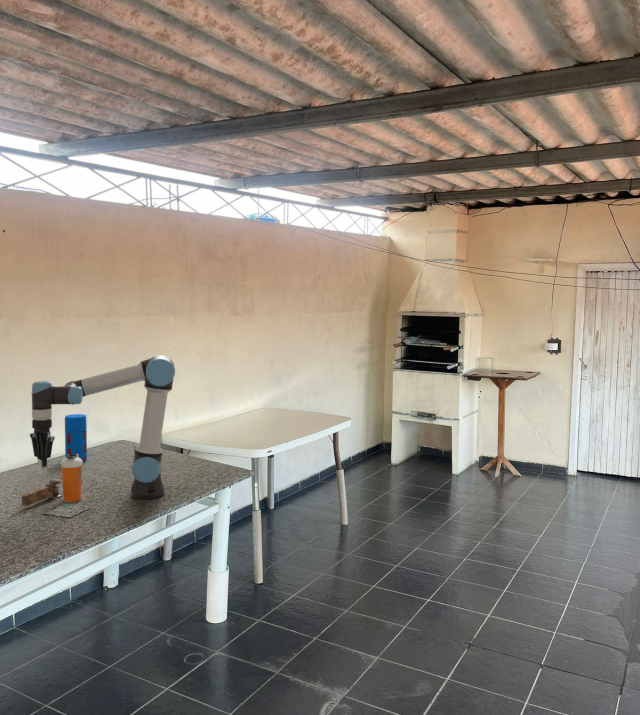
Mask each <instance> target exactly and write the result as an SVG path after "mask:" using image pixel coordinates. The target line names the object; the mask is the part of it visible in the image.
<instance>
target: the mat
mask: <svg viewBox="0 0 640 715" xmlns="http://www.w3.org/2000/svg"><path fill="white" fill-rule="evenodd" d="M73 505H74V506H75V505H76V504H73V503H67V502H64V503H62V504H61V505H59V506H55V508H57V507H69V506H70V507H71V506H73ZM78 505H79V506H81V505H80V504H78ZM84 506H85V505H84ZM85 507H86V506H85Z"/></svg>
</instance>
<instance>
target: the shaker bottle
mask: <svg viewBox="0 0 640 715" xmlns="http://www.w3.org/2000/svg"><path fill="white" fill-rule="evenodd" d="M83 464H84V463H83V461H82V460H81V459H80V458H78V454H68V456H67V457H65V458H63V459H61V461H60V468H61V478H62V479H61V480H62V481H61V483H62V492H63V493H62V497H63V502H65V501H67V502H66V503H73V502H72V501H77V500H79V501H80V499H82V482H83V481H82V478H83V477H82V476H83ZM77 502H78V501H77Z"/></svg>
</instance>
